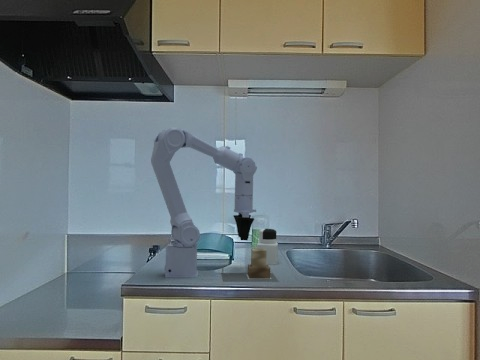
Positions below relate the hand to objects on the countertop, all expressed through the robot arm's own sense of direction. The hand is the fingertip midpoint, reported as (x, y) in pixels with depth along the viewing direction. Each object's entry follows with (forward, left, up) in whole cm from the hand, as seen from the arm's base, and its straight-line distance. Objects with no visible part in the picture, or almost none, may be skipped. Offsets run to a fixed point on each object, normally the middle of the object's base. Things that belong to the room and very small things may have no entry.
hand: (242, 238), depth 149 cm
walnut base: (+4, -9, -10) cm, 14 cm away
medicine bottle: (+10, +14, -11) cm, 20 cm away
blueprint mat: (+1, -10, -10) cm, 14 cm away
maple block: (+4, -9, -7) cm, 12 cm away
